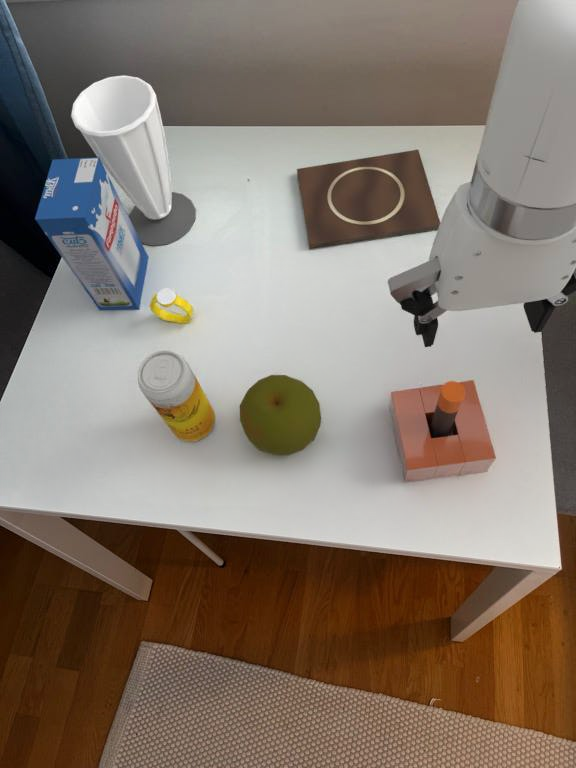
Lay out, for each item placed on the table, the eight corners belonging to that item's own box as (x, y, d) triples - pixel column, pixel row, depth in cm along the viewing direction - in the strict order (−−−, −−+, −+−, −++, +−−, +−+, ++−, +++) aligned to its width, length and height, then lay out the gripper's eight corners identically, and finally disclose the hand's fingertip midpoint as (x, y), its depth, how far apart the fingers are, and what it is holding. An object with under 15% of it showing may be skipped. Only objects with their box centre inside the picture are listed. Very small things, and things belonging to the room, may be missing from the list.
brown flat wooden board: (417, 155, 95) (418, 148, 94) (439, 229, 88) (441, 223, 87) (297, 174, 96) (296, 167, 95) (309, 249, 89) (308, 243, 87)
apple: (338, 430, 75) (335, 394, 65) (284, 482, 73) (274, 453, 63) (284, 383, 79) (275, 342, 69) (232, 431, 77) (215, 396, 67)
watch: (154, 324, 86) (141, 301, 80) (160, 308, 87) (148, 285, 81) (193, 329, 84) (182, 306, 79) (198, 313, 86) (188, 290, 80)
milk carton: (110, 258, 92) (52, 159, 74) (148, 256, 91) (99, 156, 73) (99, 311, 88) (34, 219, 70) (139, 310, 87) (83, 217, 69)
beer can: (167, 441, 77) (128, 393, 64) (178, 399, 80) (142, 345, 66) (211, 446, 76) (180, 398, 63) (220, 404, 79) (193, 349, 65)
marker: (443, 428, 74) (462, 379, 61) (448, 446, 73) (468, 400, 60) (424, 430, 74) (438, 382, 62) (428, 449, 73) (444, 403, 60)
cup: (168, 256, 91) (118, 145, 72) (113, 230, 94) (51, 118, 75) (210, 206, 95) (173, 88, 75) (155, 183, 98) (107, 65, 79)
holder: (466, 396, 75) (473, 379, 71) (487, 471, 71) (496, 458, 66) (388, 408, 76) (390, 391, 71) (404, 482, 71) (407, 470, 67)
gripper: (644, 126, 39) (560, 280, 54) (387, 163, 39) (376, 305, 55) (690, 210, 35) (587, 349, 51) (408, 249, 36) (390, 375, 51)
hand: (478, 326), depth 53 cm, fingers open, 9 cm apart
